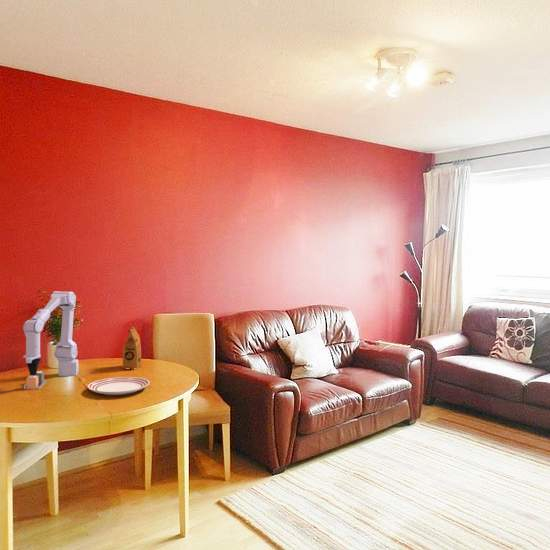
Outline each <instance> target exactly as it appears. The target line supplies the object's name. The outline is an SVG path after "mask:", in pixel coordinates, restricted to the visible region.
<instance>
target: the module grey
mask: <svg viewBox="0 0 550 550" xmlns="http://www.w3.org/2000/svg"><path fill="white" fill-rule="evenodd" d="M35 376H38V384H41V383H42V382H43V381H44V380H45V371H42V370H40V371H38V370H37V373H36V375H35Z"/></svg>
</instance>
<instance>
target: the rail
mask: <svg viewBox="0 0 550 550" xmlns="http://www.w3.org/2000/svg"><path fill="white" fill-rule="evenodd" d="M46 383H47V379H44V381H43V382H42V383H41V384H38V387H37V388H36V389H35V390H40V389H41V388H43V386H44V385H45V384H46ZM23 390H27V391H28V390H32V389H26V383H24V384H23Z"/></svg>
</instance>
